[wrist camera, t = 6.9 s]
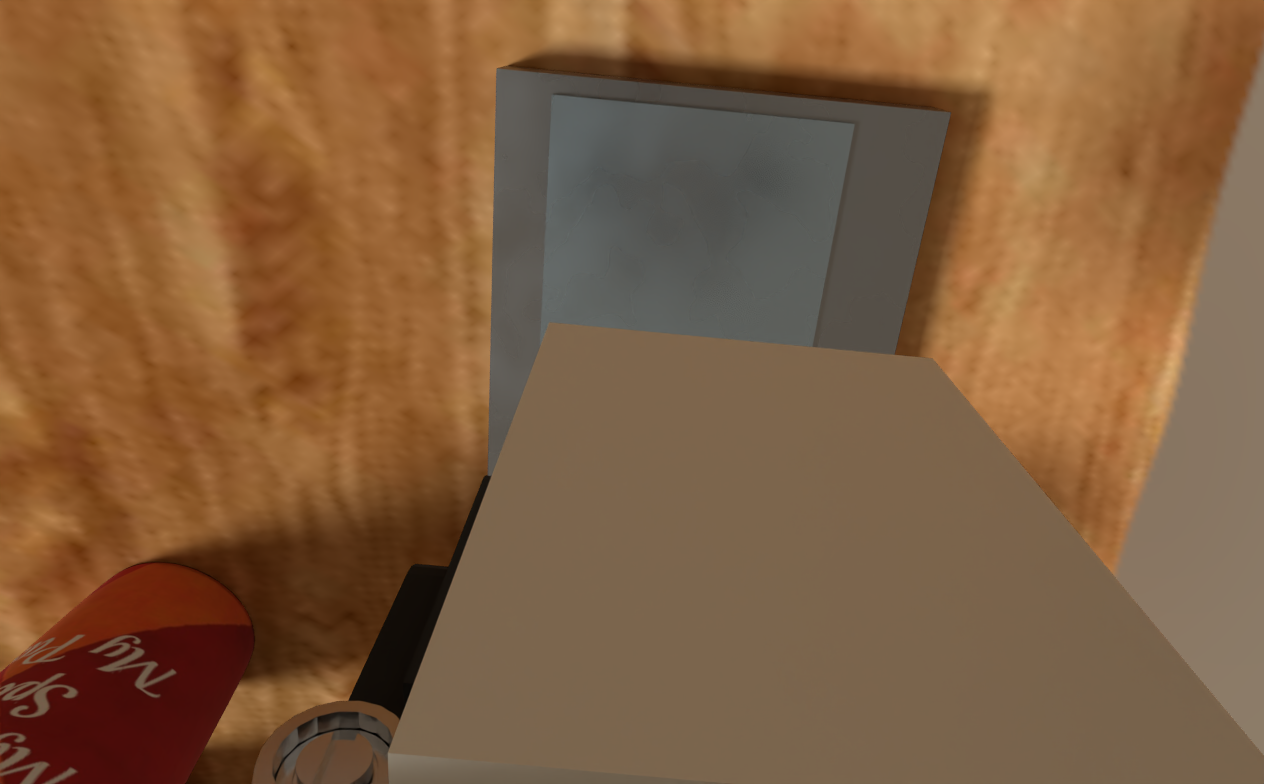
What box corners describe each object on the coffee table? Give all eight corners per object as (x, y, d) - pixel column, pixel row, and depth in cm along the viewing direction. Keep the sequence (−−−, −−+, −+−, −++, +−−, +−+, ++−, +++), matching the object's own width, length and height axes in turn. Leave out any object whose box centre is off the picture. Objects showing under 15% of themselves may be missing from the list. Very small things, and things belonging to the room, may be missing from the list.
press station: (505, 65, 23) (436, 85, 16) (933, 107, 23) (1060, 144, 16) (491, 634, 31) (440, 821, 24) (808, 663, 31) (854, 857, 24)
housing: (549, 322, 11) (387, 753, 4) (931, 358, 11) (1332, 838, 4) (527, 728, 14) (411, 1354, 7) (832, 755, 14) (987, 1401, 7)
